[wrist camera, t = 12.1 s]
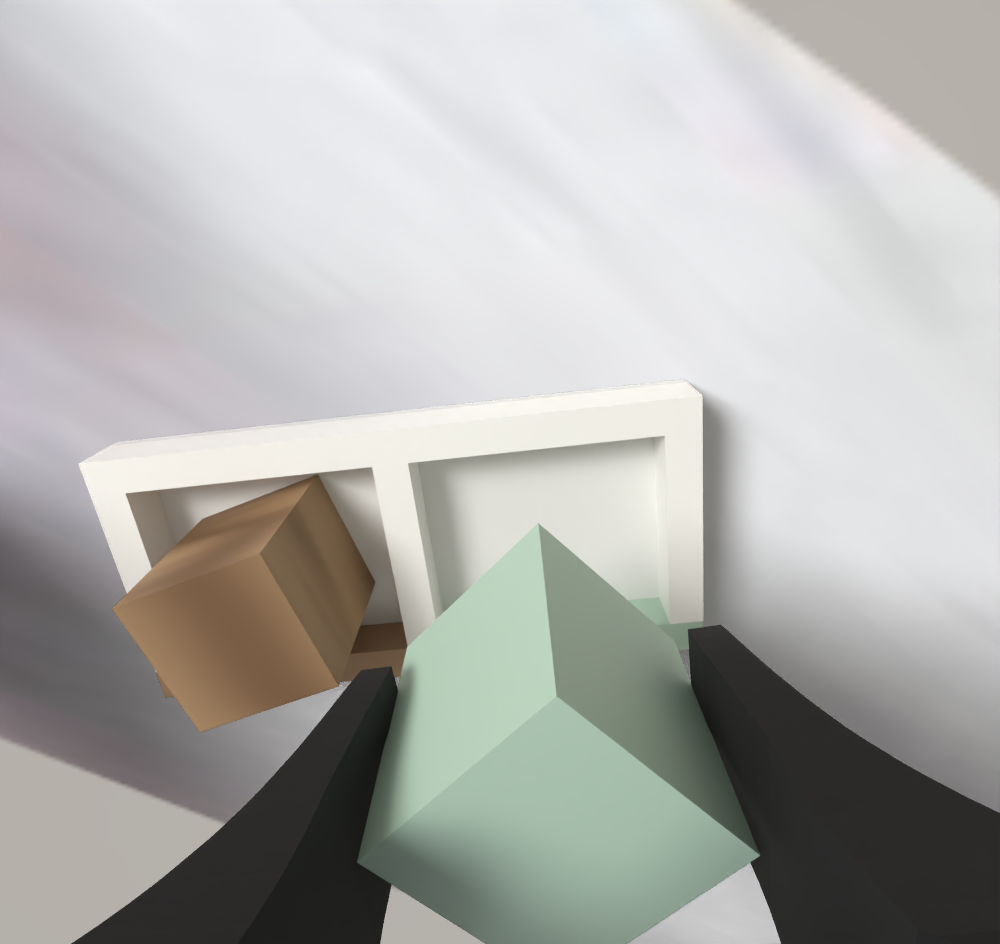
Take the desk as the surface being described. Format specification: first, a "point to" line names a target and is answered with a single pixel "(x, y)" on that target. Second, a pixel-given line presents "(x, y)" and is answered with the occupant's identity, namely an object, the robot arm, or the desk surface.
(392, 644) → the slot board
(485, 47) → the desk surface
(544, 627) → the sage block
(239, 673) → the walnut block
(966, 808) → the robot arm
